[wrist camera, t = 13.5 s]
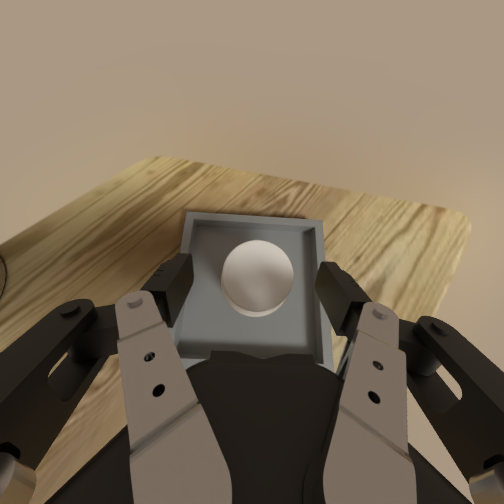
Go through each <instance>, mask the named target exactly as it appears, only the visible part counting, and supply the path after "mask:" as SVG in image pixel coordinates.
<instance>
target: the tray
mask: <svg viewBox="0 0 504 504" xmlns="http://www.w3.org/2000/svg"><path fill="white" fill-rule="evenodd" d="M252 240H262V241H267V242H270V243H272V244H274V245H276V246H278V247H279V248H280V249H281V250H282V251H283V252H284V253H285V254H286V255H287V257H288V258H289V260H290V262H291V265H292V268H293V284H292V288H291V290H290V293H289V294H288V296H287V298H286V299H285V301H284V303H283V304H282V305H281V306H280V307H279V308H278V309H277V310H275V311H274V312H272V313H270V314H268V315H265V316H261V317H250V316H246V315H243V314H241V313H239V312H237V311H236V310H234V309H233V308H232V307H231V306H230V305H229V304H228V302H227V301H226V299H225V297H224V295H223V292H222V288H221V275H222V270H223V265H224V262H225V260H226V258H227V256H228V255H229V253H230V252H231V251H232V250H233V249H234V248H235V247H237V246H239V245H240V244H242V243H245V242H247V241H252ZM180 253H191V254H192V259H193V269H194V282H193V285H192V287H191V289H190V292H189V294H188V296H187V298H186V300H185V302H184V305H183V307H182V309H181V311H180V313H179V315H178V318H177V320H176V322H175V324H174V326H173V328H168V330H169V332H170V335H171V337H172V339H173V342H174V344H175V347H176V349H177V351H178V354H179V356H180V359H181V361H182V363H183V366H184V368H185V370H186V369H187V368H189V367H191V366H192V365H194V364H196V363H198V362H201V361H204V360H207V359H210V354H211V350H214V351H237V352H240V353H244V354H247V355H250V356H254V357H257V358H260V359H266V358H270V357H274V356H279V355H283V354H287V353H290V354H312V355H313V358H314V362H315V364H318V365H321V366H323V367H325V368H327V369H329V370H331V371H332V372H334V365H333V352H332V339H331V326H330V320H329V318H328V316H327V314H326V312H325V310H324V308H323V306H322V304H321V301H320V299H319V297H318V295H317V293H316V291H315V280H316V277H317V273H318V270H319V266H320V263H321V262H322V261H325V248H324V235H323V222H322V220H310V219H295V218H280V217H264V216H249V215H234V214H218V213H203V212H187V213H186V219H185V224H184V230H183V236H182V242H181V247H180ZM325 262H326V261H325Z"/></svg>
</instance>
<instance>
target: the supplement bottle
mask: <svg viewBox="0 0 504 504" xmlns="http://www.w3.org/2000/svg"><path fill="white" fill-rule="evenodd" d="M292 284H293V268H292V265H291V262H290V260H289V258H288V257H287V255H286V254H285V253H284V252H283V251H282V250H281V249H280V248H279V247H278V246H276V245H274V244H272V243H270V242H267V241H262V240H252V241H247V242H245V243H242V244H240V245H239V246H237V247H235V248H234V249H233V250H232V251H231V252H230V253H229V255H228V256H227V258H226V260H225V262H224V265H223V270H222V275H221V288H222V292H223V295H224V297H225V299H226V301H227V302H228V304H229V305H230V306H231V307H232V308H233V309H234V310H236V311H237V312H239V313H241V314H243V315H246V316H250V317H261V316H265V315H268V314H270V313H272V312H274V311H275V310H277V309H278V308H279V307H280V306H281V305H282V304H283V303H284V301H285V299H286V298H287V296H288V294H289V293H290V290H291V288H292Z"/></svg>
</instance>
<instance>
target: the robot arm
mask: <svg viewBox="0 0 504 504" xmlns="http://www.w3.org/2000/svg"><path fill="white" fill-rule="evenodd" d="M5 276H6V274H5V267H4V264H3V262H2V260H1V258H0V296H1V293H2V290H3V288H4V285H5ZM193 282H194V269H193V259H192V254H191V253H177V255H176V256H175V257H174V258H173V260H168V261H166V262H165V263H163V264H161V265H160V267H159V268H158V269H157V271H155V272H154V274H153V276H151V277H150V278H149V280H148V281H147V282H146V283H145V284H144V286H143V287H142V288H141V289H140V290H139V291H134V292H131V293H128V294H126V295H124V296H123V297H121V298H120V299H119V300H118V301H117V302H116V304H113V305H108V306H102V307H96V308H95V306H94V304H93V302H92V301H91V300H89V299H77V300H73V301H69V302H67V303H64V304H62V305H60V306H58V307H57V308H55V309H54V310H52V311H51V312H50V313H48V314H47V315H46V316H45V317H44V318H42V319H41V320H40V321H39V322H38V323H36V324H35V325H34V326H33V327H32V328H30V329H29V330H28V331H27V332H26V333H24V334H23V335H22V336H21V337H19V338H18V339H17V340H16V341H15V342H13V343H12V344H11V345H10V346H9V347H7V348H6V349H5V350H4V351H3V352H1V353H0V504H29V502H30V500H31V498H32V495H33V493H34V490H35V486H36V473H35V470H36V468H37V467H38V465H39V463H40V462H41V460H42V459H43V457H44V456H45V454H46V453H47V451H48V450H49V448H50V446H51V445H52V443H53V442H54V440H55V439H56V437H57V436H58V434H59V433H60V431H61V430H62V428H63V426H64V425H65V423H66V422H67V420H68V419H69V417H70V416H71V414H72V413H73V411H74V409H75V408H76V406H77V405H78V403H79V402H80V400H81V399H82V397H83V396H84V394H85V393H86V391H87V389H88V388H89V386H90V385H91V383H92V382H93V380H94V379H95V377H96V376H97V374H98V372H99V371H100V369H101V368H102V366H103V365H104V363H105V362H106V360H107V359H108V357H109V355H114V354H118V355H119V363H120V370H121V378H122V386H123V394H124V401H125V409H126V417H127V425H126V426H125V427H124V428H123V429H122V430H121V431H120V432H119V433H118V434H117V435H115V436H114V437H113V438H112V439H111V440H110V441H109V442H108V443H107V444H106V445H105V446H104V447H103V448H102V449H101V450H100V451H99V452H98V453H97V454H96V455H95V456H93V457H92V458H91V459H90V460H89V461H88V462H87V463H86V464H85V465H84V466H83V467H82V468H81V469H80V470H79V471H78V472H77V473H76V474H75V475H74V476H73V477H71V478H70V479H69V480H68V481H67V482H66V483H65V484H64V485H63V486H62V487H61V488H60V489H59V490H58V491H57V492H56V493H55V494H54V495H53V496H52V497H51V498H50V499H48V500H47V501H46V502H45V503H44V504H472V503H471V502H470V501H469V500H468V499H467V498H466V497H465V496H464V495H463V494H461V492H460V491H458V490H457V489H456V488H455V487H454V486H453V485H452V484H451V483H450V482H449V481H448V480H447V479H446V478H445V477H444V476H443V475H442V474H441V473H440V472H439V471H438V470H436V469H435V467H434V466H432V465H431V464H430V463H429V462H428V461H427V460H426V459H425V458H424V457H423V456H422V455H421V454H420V453H419V452H418V451H417V450H416V449H415V448H414V447H413V446H412V445H411V444H410V443H408V439H407V438H408V436H407V387H408V388H409V390H410V392H411V393H412V395H413V396H414V398H415V399H416V401H417V402H418V404H419V406H420V407H421V409H422V411H423V412H424V414H425V415H426V417H427V418H428V420H429V422H430V423H431V425H432V426H433V428H434V430H435V431H436V433H437V434H438V436H439V438H440V439H441V441H442V443H443V444H444V446H445V447H446V449H447V450H448V452H449V454H450V455H451V457H452V458H453V460H454V462H455V463H456V465H457V466H458V468H459V470H460V471H461V472H462V474H463V476H464V477H465V479H466V481H467V482H468V484H469V489H470V493H471V496H472V499H473V501H474V503H475V504H504V372H503V371H501V370H500V369H499V368H498V367H497V366H496V365H495V364H494V363H493V362H491V361H490V360H489V359H488V358H487V357H486V356H485V355H484V354H482V353H481V352H480V351H479V350H478V349H477V348H476V347H475V346H474V345H472V344H471V343H470V342H469V341H468V340H467V339H466V338H465V337H463V336H462V335H461V334H460V333H459V332H458V331H457V330H456V329H454V328H453V327H452V326H450V325H449V324H447V323H445V322H443V321H441V320H439V319H437V318H434V317H430V316H421V317H420V318H419V319H418V321H417V322H416V323H413V322H409V321H406V320H402V319H399V318H398V316H397V315H396V314H395V313H394V312H393V311H392V310H391V309H389V308H388V307H386V306H384V305H382V304H379V303H375V302H372V300H371V299H370V298H369V297H368V296H367V294H366V293H365V292H364V291H363V290H362V288H361V287H359V285H358V284H357V282H355V280H354V279H353V278H352V276H351V275H349V274H348V273H346V272H345V271H343V270H341V269H340V267H339V266H338V265H337V264H336V263H335V262H325V261H322V262H321V263H320V266H319V270H318V273H317V277H316V280H315V291H316V293H317V295H318V297H319V299H320V301H321V304H322V306H323V308H324V310H325V312H326V314H327V316H328V318H329V320H330V322H331V324H332V327H333V329H334V331H335V333H336V335H337V336H346V337H347V339H348V340H347V342H346V344H345V347H344V350H343V353H342V356H341V359H340V362H339V365H338V369H337V371H336V374H335V373H334V372H332V371H331V370H329V369H327V368H325V367H323V366H321V365H318V364H315V362H314V358H313V355H312V354H290V353H287V354H283V355H279V356H274V357H270V358H266V359H260V358H257V357H254V356H250V355H247V354H244V353H240V352H237V351H214V350H211V354H210V359H207V360H204V361H201V362H198V363H196V364H194V365H192V366H191V367H189V368H187V369H186V370H185V368H184V366H183V363H182V361H181V359H180V356H179V354H178V351H177V349H176V347H175V344H174V342H173V339H172V337H171V335H170V332H169V330H168V328H173V326H174V324H175V322H176V320H177V318H178V315H179V313H180V311H181V309H182V307H183V305H184V302H185V300H186V298H187V296H188V294H189V292H190V289H191V287H192V285H193ZM66 352H67V353H68V355H67V356H66V358H65V359H64V360H63V361H62V362H61V363H60V365H59V366H58V367H57V368H56V369H55V370H54V371H53V373H52V374H51V375H50V376H49V377H48V375H49V372H50V371H51V369H52V368H53V366H54V365H55V364H56V363H57V362H58V361H59V359H60V358H61V357H62V356H63V355H64V354H65V353H66ZM441 365H443V366H444V367H445V369H446V370H447V371H448V372H449V373H450V374H451V375H452V377H453V378H454V379H455V380H456V381H457V383H458V384H459V385H460V387H461V389H462V398H461V400H458V398H457V397H456V396H455V395H454V393H453V392H452V391H451V390H450V388H449V387H448V386H447V385H446V383H445V382H444V381H443V380H442V379H441V377H440V376H439V375H438V374H437V372H436V370H437V369H438V368H439V367H440V366H441Z"/></svg>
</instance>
